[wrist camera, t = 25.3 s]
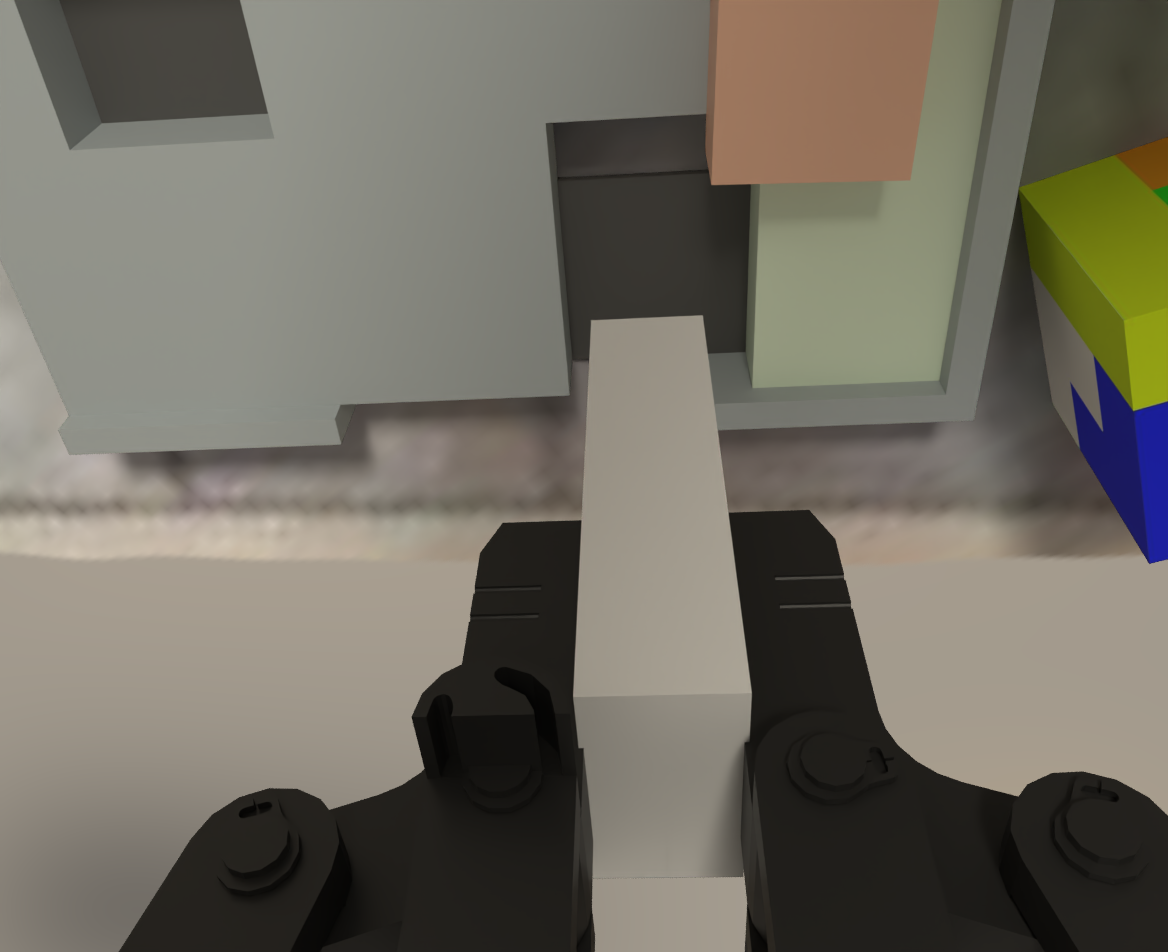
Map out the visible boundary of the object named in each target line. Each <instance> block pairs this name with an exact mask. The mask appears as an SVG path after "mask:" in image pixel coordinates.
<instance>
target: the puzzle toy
mask: <svg viewBox="0 0 1168 952" xmlns="http://www.w3.org/2000/svg"><path fill="white" fill-rule="evenodd" d="M1018 191H1019V197H1020V203H1021V210H1022V216H1023V222H1024V228H1025V235H1026V241H1027V247H1028V254H1029V260H1030V266H1031V272H1032V279H1033V285H1034V291H1035V298H1036V304H1037V310H1038V316H1039V323H1040V329H1041V335H1042V341H1043V348H1044V354H1045V360H1046V367H1047V373H1048V379H1049V385H1050V392H1051V398H1052V404H1053V406H1054V407H1055V409H1056V410H1057V412H1058V414H1059V415H1060V417H1061V419H1062V420H1063V422H1064V424H1065V425H1066V427H1067V429H1068V430H1069V432H1070V434H1071V435H1072V437H1073V439H1074V440H1075V442H1076V444H1077V445H1078V447H1079V449H1080V450H1081V452H1082V453H1083V455H1084V457H1085V458H1086V460H1087V462H1088V463H1089V465H1090V467H1091V468H1092V470H1093V472H1094V473H1095V475H1096V477H1097V478H1098V480H1099V482H1100V483H1101V485H1102V487H1103V488H1104V490H1105V492H1106V493H1107V495H1108V496H1109V498H1110V500H1111V501H1112V503H1113V505H1114V506H1115V508H1116V510H1117V511H1118V513H1119V515H1120V516H1121V518H1122V520H1123V521H1124V523H1125V525H1126V526H1127V528H1128V530H1129V531H1130V533H1131V535H1132V536H1133V538H1134V539H1135V541H1136V543H1137V544H1138V546H1139V548H1140V549H1141V551H1142V553H1143V554H1144V556H1145V558H1146V559H1147V561H1148V563H1149V564H1151V563H1155V562H1159V561H1163V560H1167V559H1168V137H1166V138H1163V139H1160V140H1157V141H1154V142H1151V143H1149V144H1146V145H1143V146H1140V147H1137V148H1134V149H1131V150H1128V151H1125V152H1122V153H1119V154H1116V155H1113V156H1110V157H1107V158H1105V159H1102V160H1099V161H1096V162H1093V163H1090V164H1087V165H1084V166H1081V167H1078V168H1075V169H1072V170H1069V171H1066V172H1063V173H1061V174H1058V175H1055V176H1052V177H1049V178H1046V179H1043V180H1040V181H1037V182H1034V183H1031V184H1028V185H1025V186H1022V187H1019V190H1018Z"/></svg>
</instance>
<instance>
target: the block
mask: <svg viewBox="0 0 1168 952" xmlns="http://www.w3.org/2000/svg"><path fill="white" fill-rule="evenodd" d="M938 4H939V0H710V25H709V54H708V82H707V110H706V139H705V153H706V158H707V164H708V169H709V175H710V180H711V185H735V184H778V183H820V182H863V181H906V180H910V179H911V173H912V167H913V161H914V154H915V148H916V142H917V136H918V129H919V123H920V117H921V110H922V104H923V98H924V92H925V85H926V79H927V73H928V67H929V60H930V54H931V48H932V42H933V35H934V29H935V23H936V16H937V10H938Z"/></svg>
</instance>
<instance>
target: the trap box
mask: <svg viewBox="0 0 1168 952" xmlns="http://www.w3.org/2000/svg"><path fill="white" fill-rule="evenodd" d="M1054 4H1055V0H939V4H938V10H937V16H936V23H935V29H934V35H933V42H932V48H931V54H930V60H929V67H928V73H927V79H926V85H925V92H924V98H923V104H922V110H921V117H920V123H919V129H918V136H917V142H916V148H915V154H914V161H913V167H912V173H911V179H910V180H906V181H863V182H820V183H778V184H735V185H711V180H710V175H709V170H698V171H679V172H660V173H642V174H623V175H605V176H586V177H567V178H558V177H557V165H556V153H555V141H554V129H553V123H557V122H575V121H592V120H610V119H627V118H645V117H662V116H680V115H697V114H706V110H707V82H708V54H709V25H710V0H0V260H1V262H2V265H3V267H4V269H5V271H6V274H7V276H8V278H9V281H10V283H11V285H12V287H13V290H14V292H15V294H16V296H17V299H18V301H19V303H20V306H21V308H22V310H23V312H24V315H25V317H26V319H27V321H28V324H29V326H30V328H31V331H32V333H33V335H34V337H35V340H36V342H37V344H38V346H39V349H40V351H41V353H42V356H43V358H44V360H45V362H46V365H47V367H48V369H49V371H50V374H51V376H52V378H53V380H54V383H55V385H56V387H57V390H58V392H59V394H60V396H61V399H62V401H63V403H64V405H65V408H66V410H67V412H68V415H69V416H68V418H67V419H66V420H65V422H64V423H63V424H62V426H61V427H60V428H59V430H58V431H59V433H60V435H61V437H62V440H63V442H64V444H65V446H66V449H67V451H68V453H69V455H80V454H106V453H133V452H159V451H185V450H212V449H238V448H264V447H291V446H317V445H341V444H342V441H343V439H344V436H345V433H346V431H347V428H348V425H349V423H350V420H351V417H352V415H353V412H354V409H355V407H356V404H373V403H397V402H422V401H447V400H471V399H496V398H521V397H546V396H570V384H571V370H572V360H573V359H589V357H590V336H591V320H609V319H632V318H654V317H676V316H698V315H703V322H704V329H705V337H706V345H707V352H708V360H709V368H710V375H711V383H712V391H713V398H714V406H715V414H716V422H717V429H718V430H739V429H765V428H791V427H818V426H844V425H870V424H897V423H923V422H949V421H974V417H975V412H976V407H977V402H978V396H979V391H980V386H981V381H982V376H983V371H984V365H985V360H986V355H987V350H988V345H989V340H990V335H991V329H992V324H993V319H994V314H995V309H996V304H997V298H998V293H999V288H1000V283H1001V278H1002V273H1003V267H1004V262H1005V257H1006V252H1007V247H1008V242H1009V236H1010V231H1011V226H1012V221H1013V216H1014V211H1015V206H1016V200H1017V195H1018V190H1019V185H1020V180H1021V175H1022V169H1023V164H1024V159H1025V154H1026V149H1027V144H1028V138H1029V133H1030V128H1031V123H1032V118H1033V113H1034V107H1035V102H1036V97H1037V92H1038V87H1039V82H1040V77H1041V71H1042V66H1043V61H1044V56H1045V51H1046V46H1047V40H1048V35H1049V30H1050V25H1051V20H1052V15H1053V9H1054Z"/></svg>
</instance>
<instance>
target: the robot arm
mask: <svg viewBox="0 0 1168 952" xmlns="http://www.w3.org/2000/svg"><path fill="white" fill-rule="evenodd" d="M412 720H413V724H414V728H415V732H416V736H417V740H418V744H419V748H420V752H421V756H422V760H423V764H424V768H425V769H424V770H423V771H422V772H421V773H420V774H418V775H417V776H415V777H414V778H412V779H411V780H409V781H408V782H406V783H405V784H403V785H401V786H399V787H397V788H395V789H392V790H389V791H387V792H385V793H382V794H380V795H377V796H374V797H370V798H367V799H364V800H360V801H357V802H354V803H351V804H347V805H344V806H341V807H338V808H335V809H331V810H329V809H328V808H327V807H326V805H325V804H324V803H323V802H322V801H321V799H319V798H317V797H315V796H312V795H310V794H308V793H305V792H303V791H301V790H298V789H273V788H271V789H270V788H269V789H265V790H262V791H259V792H255V793H252V794H249V795H246V796H242V797H239V798H238V799H236V800H234V801H233V802H231V803H230V804H228V805H227V806H225V807H224V808H222V809H221V810H219V811H217V812H216V813H214V814H213V815H212V816H211V817H210V818H209V819H208V820H207V821H206V822H205V823H204V825H203V826H202V827H201V828H200V829H199V830H198V831H197V833H196V834H195V835H194V836H193V837H192V838H191V840H190V841H189V843H188V844H187V846H186V848H185V849H184V851H183V852H182V854H181V856H180V857H179V858H178V860H177V862H176V863H175V865H174V866H173V868H172V869H171V871H170V872H169V874H168V876H167V877H166V879H165V880H164V882H163V884H162V885H161V887H160V888H159V890H158V891H157V893H156V894H155V896H154V898H153V899H152V901H151V902H150V904H149V905H148V907H147V909H146V910H145V912H144V913H143V915H142V916H141V918H140V919H139V921H138V923H137V924H136V926H135V928H134V929H133V930H132V932H131V934H130V935H129V937H128V938H127V940H126V941H125V943H124V945H123V946H122V948H121V949H120V951H119V952H595V932H594V923H593V914H592V876H593V879H594V878H681V877H682V878H683V877H684V878H685V877H743V870H744V876H745V885H746V894H747V921H746V940H745V952H1168V815H1167V814H1165V813H1164V812H1163V811H1162V810H1161V809H1160V808H1159V807H1158V806H1157V805H1156V804H1155V803H1154V802H1153V801H1152V800H1151V799H1150V798H1148V797H1147V796H1145V795H1143V794H1141V793H1140V792H1138V791H1136V790H1134V789H1132V788H1130V787H1129V786H1127V785H1125V784H1123V783H1121V782H1119V781H1117V780H1115V779H1111V778H1107V777H1102V776H1099V775H1095V774H1091V773H1086V772H1066V773H1051V774H1049V775H1047V776H1045V777H1042V778H1040V779H1038V780H1036V781H1034V782H1032V783H1030V784H1027V786H1026V787H1025V788H1024V790H1023V791H1022V793H1021V794H1020V795H1019V797H1018V796H1013V795H1010V794H1006V793H1002V792H998V791H994V790H990V789H987V788H982V787H979V786H975V785H971V784H967V783H964V782H960V781H958V780H955V779H952V778H949V777H946V776H943V775H940V774H938V773H936V772H934V771H932V770H931V769H929V768H927V767H925V766H924V765H922V764H920V763H918V762H917V761H915V760H914V759H913V758H912V757H911V756H910V755H909V754H907V753H906V752H905V751H904V750H903V749H902V748H900V747H899V746H898V745H897V743H896V742H895V741H894V739H893V738H892V737H891V735H890V734H889V733H888V731H887V730H886V729H885V726H884V723H883V721H882V719H881V716H880V714H879V711H878V707H877V703H876V699H875V696H874V691H873V687H872V684H871V680H870V676H869V672H868V668H867V664H866V660H865V656H864V652H863V648H862V644H861V640H860V636H859V632H858V628H857V624H856V620H855V616H854V612H853V609H851V600H850V596H849V592H848V588H847V584H846V581H845V580H844V573H843V568H842V564H841V560H840V556H839V552H838V548H837V544H836V541H835V538H834V537H833V536H832V535H831V534H830V533H829V532H828V531H827V529H826V528H825V527H824V526H823V525H822V524H821V523H820V522H819V520H818V519H817V518H816V517H815V516H814V515H813V514H812V513H811V511H810V510H796V511H765V512H735V513H728V506H727V499H726V491H725V483H724V475H723V468H722V460H721V452H720V445H719V437H718V429H717V422H716V414H715V406H714V398H713V391H712V383H711V375H710V368H709V360H708V352H707V345H706V337H705V329H704V322H703V315H698V316H676V317H654V318H632V319H609V320H591V336H590V357H589V377H588V398H587V419H586V440H585V461H584V481H583V502H582V520H577V521H546V522H516V523H502V525H501V526H500V527H499V529H498V530H497V531H496V533H495V534H494V535H493V537H492V538H491V539H490V541H489V542H488V543H487V545H486V546H485V547H484V549H483V550H482V551H481V553H480V558H479V564H478V570H477V576H476V582H475V594H474V595H473V601H472V607H471V613H470V622H469V626H468V632H467V638H466V644H465V649H464V656H463V662H462V665H460V666H458V667H456V668H454V669H452V670H450V671H448V672H445V673H444V674H442V675H441V676H440V677H439V678H438V679H437V680H436V681H435V682H434V683H433V684H432V685H431V686H429V687H428V688H427V689H426V690H425V691H424V692H423V693H422V695H421V697H420V700H419V702H418V704H417V706H416V709H415V711H414V713H413V715H412Z"/></svg>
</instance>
